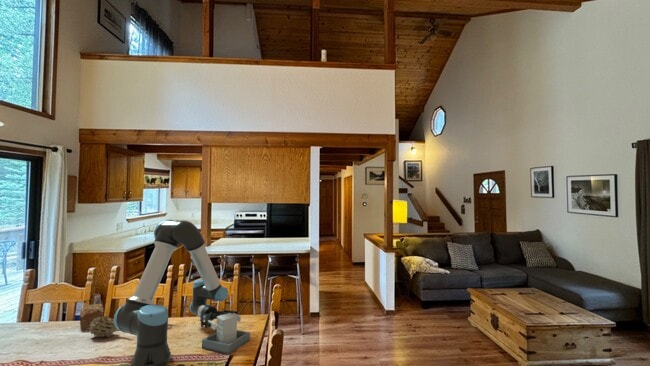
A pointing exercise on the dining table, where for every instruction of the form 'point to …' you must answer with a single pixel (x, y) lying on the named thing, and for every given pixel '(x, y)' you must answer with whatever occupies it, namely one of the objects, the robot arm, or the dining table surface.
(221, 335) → the supplement box
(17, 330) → the dining table surface
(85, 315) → the bread
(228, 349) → the box
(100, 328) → the pine cone
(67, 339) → the dining table surface
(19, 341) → the dining table surface
